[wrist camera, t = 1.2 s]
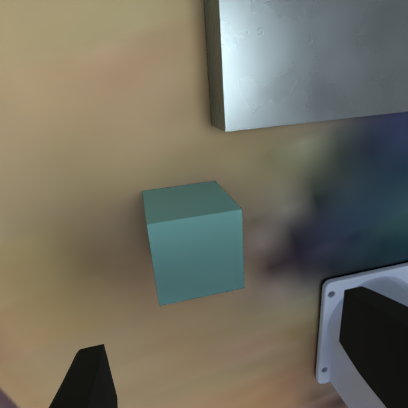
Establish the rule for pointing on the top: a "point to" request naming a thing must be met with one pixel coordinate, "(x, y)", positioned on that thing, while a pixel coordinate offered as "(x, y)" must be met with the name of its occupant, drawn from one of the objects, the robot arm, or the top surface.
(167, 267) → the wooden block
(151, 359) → the top surface
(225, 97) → the base block
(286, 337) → the top surface
